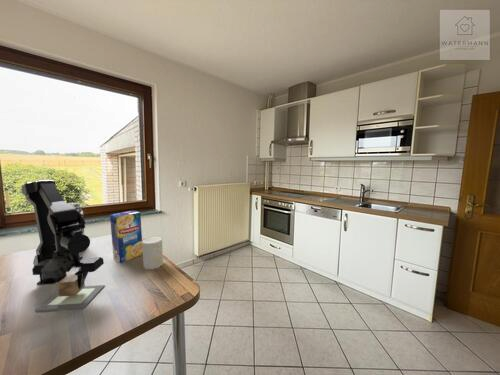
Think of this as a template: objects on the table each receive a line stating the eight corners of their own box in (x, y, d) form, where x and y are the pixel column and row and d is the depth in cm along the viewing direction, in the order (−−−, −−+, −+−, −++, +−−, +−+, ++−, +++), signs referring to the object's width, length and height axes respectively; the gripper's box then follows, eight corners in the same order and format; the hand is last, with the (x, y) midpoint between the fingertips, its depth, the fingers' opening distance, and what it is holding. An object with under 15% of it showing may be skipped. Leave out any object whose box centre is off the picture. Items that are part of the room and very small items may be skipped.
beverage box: (143, 254, 106) (140, 212, 103) (119, 263, 97) (116, 217, 94) (136, 251, 110) (133, 210, 107) (113, 259, 101) (109, 214, 98)
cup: (155, 270, 91) (154, 244, 89) (139, 268, 92) (137, 242, 91) (166, 261, 99) (165, 237, 97) (151, 260, 100) (150, 236, 99)
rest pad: (35, 311, 66) (35, 309, 66) (64, 288, 77) (63, 287, 77) (83, 308, 67) (83, 306, 67) (104, 286, 79) (104, 284, 79)
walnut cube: (58, 296, 69) (57, 282, 69) (69, 287, 74) (68, 274, 74) (75, 295, 70) (73, 281, 69) (84, 286, 75) (83, 273, 74)
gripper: (12, 258, 61) (19, 306, 63) (81, 255, 63) (86, 302, 65) (44, 243, 72) (49, 285, 74) (102, 241, 74) (106, 281, 76)
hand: (72, 288), depth 72 cm, fingers closed on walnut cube, 5 cm apart
